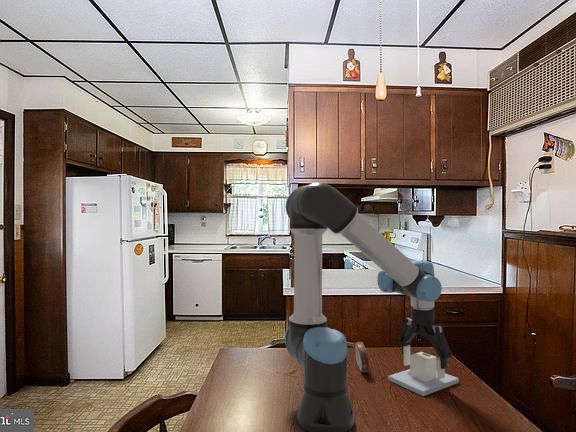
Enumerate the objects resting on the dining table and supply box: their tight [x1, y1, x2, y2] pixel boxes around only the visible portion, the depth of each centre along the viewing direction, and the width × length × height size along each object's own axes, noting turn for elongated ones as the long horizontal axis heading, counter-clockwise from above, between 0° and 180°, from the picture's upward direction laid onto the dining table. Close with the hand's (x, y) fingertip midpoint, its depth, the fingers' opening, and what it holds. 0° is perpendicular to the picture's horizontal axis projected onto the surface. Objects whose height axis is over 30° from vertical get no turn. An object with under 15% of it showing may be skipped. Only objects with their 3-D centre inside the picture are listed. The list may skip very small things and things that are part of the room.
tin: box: [354, 341, 370, 373], centre depth 138 cm, size 15×3×8 cm, turn 178°
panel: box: [387, 368, 459, 397], centre depth 126 cm, size 18×14×6 cm
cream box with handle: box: [409, 351, 438, 382], centre depth 126 cm, size 6×6×7 cm
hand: (423, 371), depth 126 cm, fingers open, 13 cm apart
